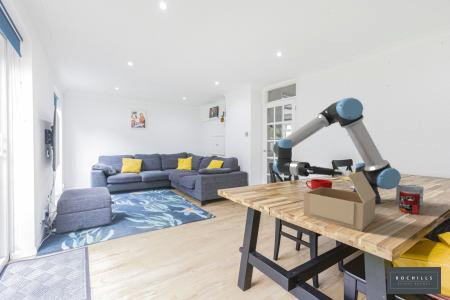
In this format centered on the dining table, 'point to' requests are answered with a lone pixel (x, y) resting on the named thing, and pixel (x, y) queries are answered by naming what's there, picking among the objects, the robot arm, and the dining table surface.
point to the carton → (339, 208)
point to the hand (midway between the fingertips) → (350, 174)
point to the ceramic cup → (319, 183)
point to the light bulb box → (409, 187)
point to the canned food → (409, 201)
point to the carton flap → (362, 186)
